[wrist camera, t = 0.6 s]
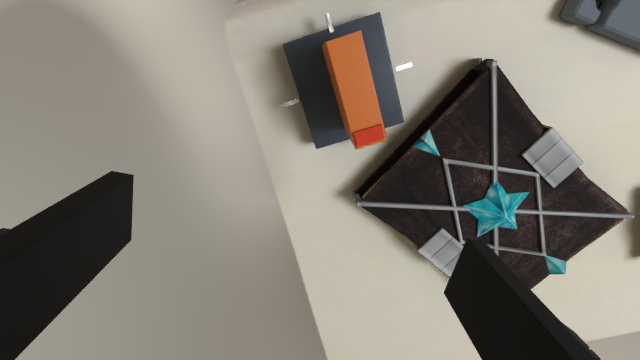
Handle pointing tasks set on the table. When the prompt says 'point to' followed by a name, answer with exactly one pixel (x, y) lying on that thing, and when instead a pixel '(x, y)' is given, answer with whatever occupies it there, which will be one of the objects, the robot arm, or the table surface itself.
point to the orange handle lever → (354, 89)
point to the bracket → (607, 18)
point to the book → (490, 183)
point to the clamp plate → (318, 86)
